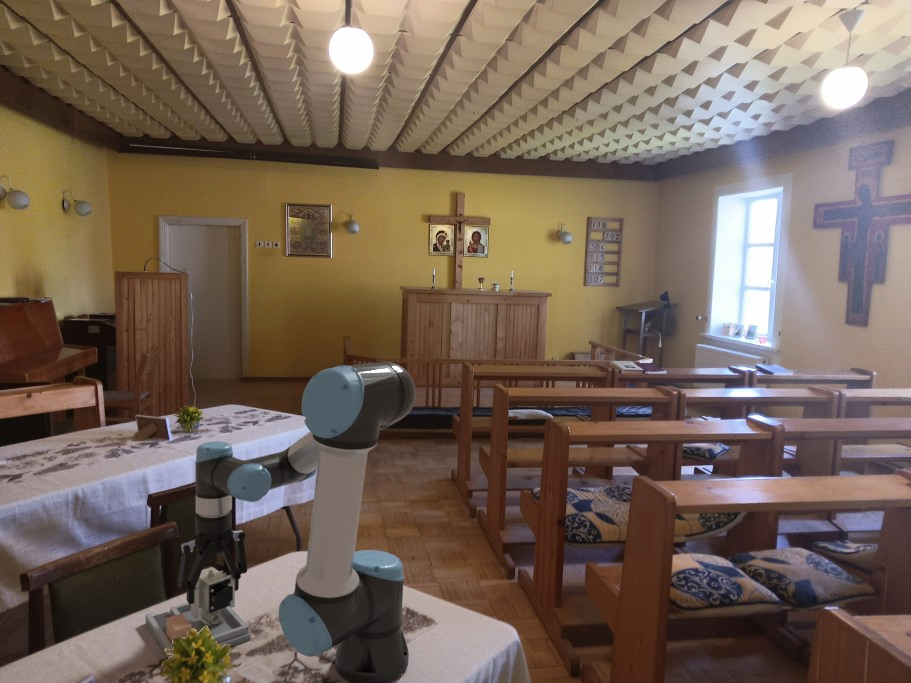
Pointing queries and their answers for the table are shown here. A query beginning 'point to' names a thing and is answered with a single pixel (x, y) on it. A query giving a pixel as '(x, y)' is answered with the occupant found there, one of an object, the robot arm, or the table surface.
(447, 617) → the table surface
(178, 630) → the tan cardboard box
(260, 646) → the table surface
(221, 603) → the pneumatic valve
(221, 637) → the grey tray
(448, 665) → the table surface
